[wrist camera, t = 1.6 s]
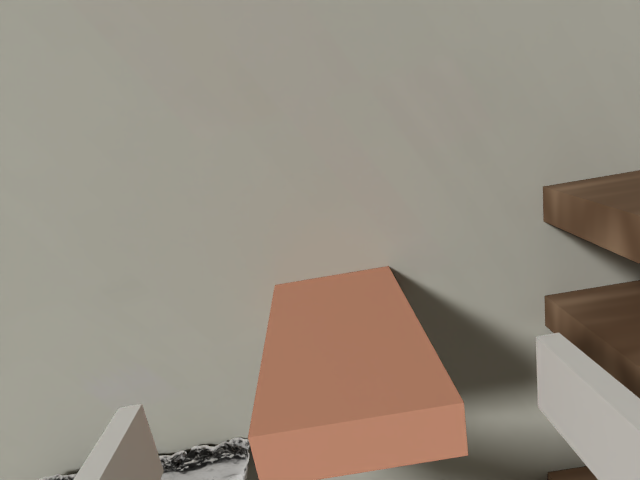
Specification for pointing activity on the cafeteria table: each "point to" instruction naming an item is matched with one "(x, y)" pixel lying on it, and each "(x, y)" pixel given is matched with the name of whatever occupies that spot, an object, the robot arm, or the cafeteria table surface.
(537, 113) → the cafeteria table surface
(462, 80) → the cafeteria table surface
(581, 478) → the domino
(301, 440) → the domino
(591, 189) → the domino
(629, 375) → the domino
